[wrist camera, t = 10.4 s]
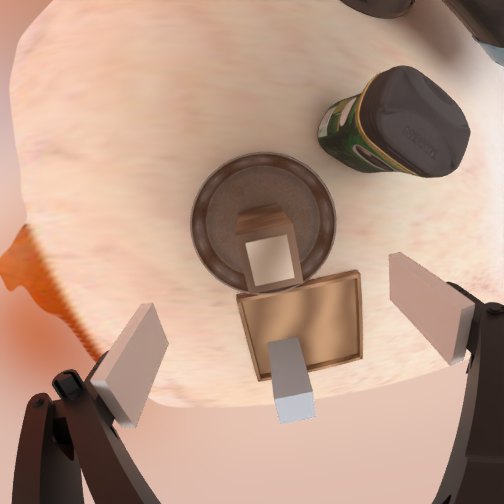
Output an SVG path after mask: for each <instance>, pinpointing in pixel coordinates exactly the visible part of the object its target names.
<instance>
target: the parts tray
mask: <svg viewBox="0 0 504 504" xmlns="http://www.w3.org/2000/svg"><path fill="white" fill-rule="evenodd" d="M237 303H238V307H239V311H240V315H241V319H242V323H243V327H244V331H245V334H246V338H247V342H248V346H249V350H250V353H251V357H252V361H253V365H254V368H255V372H256V376H257V379H258V382H260V381H266V380H272V375H271V366H270V357H269V348H268V342H273V341H278V340H283V339H288V338H293V337H298V339H299V343H300V346H301V350H302V353H303V357H304V361H305V364H306V368H307V372H312V371H317V370H321V369H325V368H329V367H333V366H337V365H341V364H345V363H349V362H353V361H356V360H360V359H363V321H362V294H361V277H360V273H359V272H358V271H357V270H354V271H349V272H345V273H340V274H336V275H331V276H327V277H322V278H318V279H313V280H308V281H306V282H304V283H303V284H301V285H299V286H297V287H295V288H293V289H291V290H288V291H285V292H281V293H277V294H268V295H257V294H249V293H243V294H238V295H237Z"/></svg>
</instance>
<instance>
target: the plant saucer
mask: <svg viewBox="0 0 504 504" xmlns="http://www.w3.org/2000/svg"><path fill="white" fill-rule="evenodd" d="M275 203H277V204H278V205H279V207H280V208H281V209H282V210H283V212H284V213H285V214H286V215H287V217H288V218H289V219H290V220H291V222H292V223H293V227H294V232H295V237H296V243H297V248H298V254H299V260H300V265H301V271H302V277H303V283H304V282H306V281H307V280H308V279H310V278H311V277H312V276H313V275H314V274H315V273H316V272H317V271H318V270H319V269H320V268H321V266H322V265H323V264H324V262H325V261H326V259H327V257H328V255H329V253H330V251H331V249H332V246H333V243H334V239H335V234H336V211H335V207H334V203H333V200H332V197H331V195H330V193H329V191H328V189H327V187H326V185H325V184H324V183H323V181H322V180H321V179H320V177H319V176H318V175H317V174H316V173H315V172H314V171H313V170H312V169H310V168H309V167H308V166H307V165H305V164H303V163H302V162H300V161H298V160H296V159H294V158H292V157H289V156H286V155H283V154H278V153H271V152H259V153H251V154H246V155H243V156H240V157H237V158H234V159H232V160H230V161H228V162H227V163H225V164H223V165H222V166H220V167H219V168H218V169H216V170H215V171H214V172H213V173H212V174H211V175H210V176H209V177H208V178H207V180H206V181H205V182H204V183H203V185H202V186H201V188H200V190H199V191H198V193H197V196H196V198H195V200H194V203H193V207H192V211H191V220H190V229H191V236H192V241H193V244H194V247H195V250H196V253H197V255H198V257H199V258H200V260H201V262H202V263H203V265H204V266H205V267H206V269H207V270H208V271H209V272H210V273H211V274H212V275H213V276H214V277H215V278H217V279H218V280H219V281H220V282H222V283H223V284H225V285H227V286H229V287H231V288H233V289H235V290H238V291H241V292H244V293H249V291H248V287H247V283H246V279H245V275H244V271H243V267H242V263H241V259H240V255H239V250H238V246H237V242H236V238H235V233H236V226H237V220H238V213H239V211H243V210H248V209H252V208H257V207H261V206H266V205H271V204H275ZM303 283H300V284H296V285H291V286H287V287H282V288H278V289H273V290H268V291H264V292H259V293H254V294H257V295H268V294H277V293H281V292H285V291H288V290H291V289H293V288H295V287H297V286H299V285H301V284H303Z"/></svg>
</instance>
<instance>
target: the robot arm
mask: <svg viewBox="0 0 504 504" xmlns="http://www.w3.org/2000/svg"><path fill="white" fill-rule="evenodd" d="M341 1H342V2H344V3H345V4H347V5H348V6H350V7H352V8H354V9H356V10H358V11H360V12H362V13H365V14H368V15H371V16H374V17H379V18H396V17H399V16H401V15H403V14H404V13H406V12H407V11H408V10H409V9H410V8H411V7H412V6H413V4H414V2H415V0H341ZM442 1H443V2H444V3H445V4H446V5H447V6H448V7H449V8H450V10H451V11H452V12H453V13H454V14H455V15H456V16H457V17H458V19H459V20H460V21H461V22H462V23H463V24H464V26H465V27H466V28H467V29H468V30H469V32H470V33H471V34H472V37H473V38H474V39H475V41H477V42H478V43H479V44H480V45H481V46H482V47H483V49H484V50H485V51H486V52H487V54H488V55H489V56H490V58H491V59H492V60H493V61H495V62H496V63H498V64H500V65H502V66H504V0H442ZM389 278H390V300H391V301H392V302H393V303H394V304H395V305H396V306H397V307H398V308H399V309H400V311H401V312H402V313H403V314H404V315H405V316H406V317H407V318H408V319H409V320H410V321H411V322H412V323H413V325H414V326H415V327H416V328H417V329H418V330H419V331H420V332H421V333H422V334H423V336H424V337H425V338H426V339H427V340H428V341H429V342H430V343H431V345H432V346H433V347H434V348H435V349H436V350H437V351H438V353H439V354H440V355H441V356H442V357H443V358H444V359H445V361H446V362H447V363H448V364H449V365H450V366H452V365H454V364H456V363H458V362H460V361H463V360H464V357H465V353H466V349H468V350H469V351H470V352H471V357H470V360H469V364H468V368H467V371H466V373H468V378H467V384H466V391H465V396H464V402H463V407H462V412H461V417H460V421H459V426H458V430H457V434H456V438H455V441H454V445H453V449H452V452H451V455H450V459H449V462H448V465H447V468H446V471H445V474H444V477H443V479H442V482H441V485H440V487H439V490H438V493H437V495H436V497H435V499H434V501H433V502H432V504H504V305H502V304H500V303H495V302H490V303H486V304H484V303H483V302H481V301H480V300H479V299H477V298H476V297H474V296H473V295H472V294H469V292H467V291H466V290H464V289H463V288H462V287H460V286H459V285H457V284H454V283H451V282H445V281H443V280H442V279H440V278H439V277H437V276H436V275H434V274H433V273H431V272H430V271H429V270H427V269H426V268H424V267H423V266H421V265H420V264H418V263H417V262H415V261H413V260H412V259H410V258H409V257H407V256H406V255H404V254H403V253H401V252H398V253H394V254H390V255H389ZM168 344H169V343H168V341H167V338H166V336H165V333H164V331H163V328H162V326H161V323H160V320H159V318H158V315H157V313H156V310H155V307H154V304H153V303H148V304H142V305H140V307H139V308H138V309H137V311H136V312H135V314H134V315H133V317H132V318H131V319H130V321H129V322H128V324H127V325H126V327H125V328H124V330H123V331H122V333H121V334H120V335H119V337H118V338H117V340H116V341H115V343H114V344H113V346H112V347H111V349H110V350H109V351H107V352H106V353H104V354H103V355H102V356H101V357H100V358H99V360H98V361H97V363H96V365H95V366H94V367H93V370H91V372H90V373H89V375H88V376H87V378H86V379H85V381H84V382H83V381H82V379H81V378H80V376H79V374H78V373H77V371H76V370H73V369H70V370H66V371H63V372H61V373H60V374H58V375H57V376H56V377H55V378H54V379H53V381H52V386H53V387H54V389H55V390H56V392H57V394H58V395H59V397H60V398H61V399H60V400H55V401H52V400H51V398H50V397H49V395H48V394H47V393H39V394H36V395H34V396H33V397H32V398H31V399H30V401H29V402H28V404H27V408H26V412H25V416H24V420H23V425H22V429H21V434H20V439H19V445H18V451H17V457H16V465H15V472H14V481H13V492H12V504H84V497H83V488H82V477H81V469H82V472H83V475H84V477H85V480H86V483H87V485H88V488H89V490H90V493H91V495H92V497H93V500H94V502H95V504H161V503H160V501H159V500H158V499H157V497H156V496H155V494H154V493H153V491H152V490H151V489H150V487H149V486H148V484H147V483H146V481H145V480H144V478H143V476H142V475H141V473H140V472H139V470H138V469H137V467H136V465H135V464H134V462H133V460H132V459H131V457H130V455H129V453H128V452H127V450H126V448H125V446H124V444H123V443H122V441H121V439H120V437H119V435H118V433H117V431H116V430H115V428H114V427H113V425H112V424H113V421H114V419H116V421H117V422H118V423H119V425H120V426H121V427H124V428H136V427H137V424H138V421H139V418H140V416H141V413H142V410H143V408H144V405H145V403H146V400H147V397H148V395H149V392H150V390H151V387H152V384H153V382H154V379H155V377H156V374H157V372H158V369H159V367H160V364H161V362H162V359H163V357H164V354H165V352H166V349H167V347H168Z"/></svg>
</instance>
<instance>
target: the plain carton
mask: <svg viewBox="0 0 504 504" xmlns="http://www.w3.org/2000/svg"><path fill="white" fill-rule="evenodd" d="M268 348H269V357H270V366H271V375H272V385H273V394H274V401H275V405H276V409H277V413H278V417H279V421H280V424H283V423H289V422H294V421H299V420H305V419H309V418H314V417H315V407H314V398H313V390H312V387H311V383H310V379H309V376H308V372H307V368H306V364H305V361H304V357H303V353H302V350H301V346H300V343H299V339H298V337H293V338H288V339H283V340H278V341H273V342H268Z"/></svg>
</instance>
